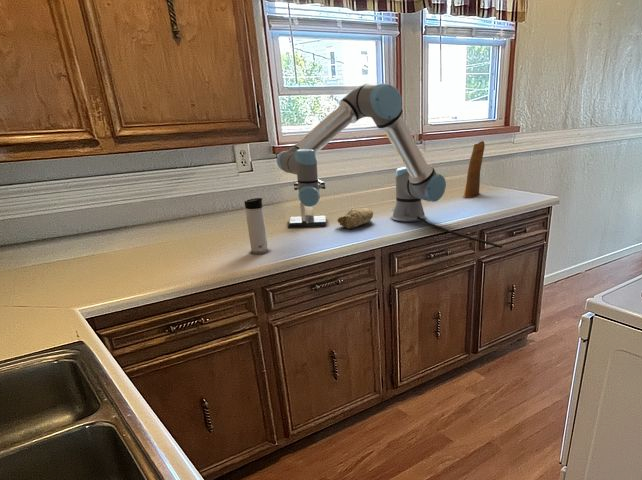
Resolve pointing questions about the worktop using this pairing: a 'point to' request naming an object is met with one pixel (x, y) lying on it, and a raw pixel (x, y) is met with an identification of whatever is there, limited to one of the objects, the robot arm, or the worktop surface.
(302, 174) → the robot arm
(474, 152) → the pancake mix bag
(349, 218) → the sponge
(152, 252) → the worktop surface
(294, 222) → the stove panel
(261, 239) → the travel mug
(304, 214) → the thin white box
